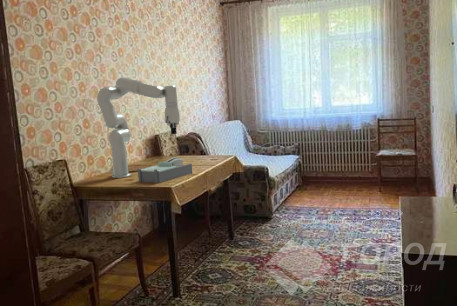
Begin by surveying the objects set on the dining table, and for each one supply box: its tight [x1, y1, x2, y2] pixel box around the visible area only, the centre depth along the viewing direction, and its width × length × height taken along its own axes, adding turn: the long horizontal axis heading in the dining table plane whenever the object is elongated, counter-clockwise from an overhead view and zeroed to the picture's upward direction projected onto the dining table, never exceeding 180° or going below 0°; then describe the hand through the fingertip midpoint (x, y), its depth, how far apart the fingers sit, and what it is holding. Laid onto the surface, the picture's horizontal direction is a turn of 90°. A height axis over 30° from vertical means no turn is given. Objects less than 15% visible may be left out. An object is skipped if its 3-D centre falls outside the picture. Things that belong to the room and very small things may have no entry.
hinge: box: [165, 156, 184, 167], centre depth 304 cm, size 17×5×10 cm, turn 147°
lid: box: [140, 161, 176, 172], centre depth 266 cm, size 16×16×3 cm
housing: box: [137, 163, 193, 184], centre depth 273 cm, size 16×34×9 cm, turn 149°
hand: (173, 133), depth 280 cm, fingers closed
